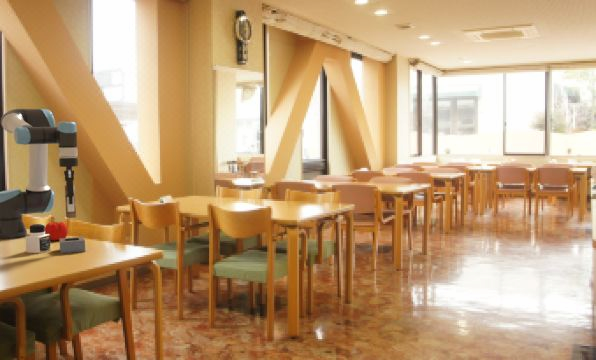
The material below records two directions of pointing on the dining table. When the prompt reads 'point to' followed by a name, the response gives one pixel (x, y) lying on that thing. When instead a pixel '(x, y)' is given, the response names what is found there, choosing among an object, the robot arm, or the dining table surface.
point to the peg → (68, 214)
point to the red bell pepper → (56, 230)
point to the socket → (72, 245)
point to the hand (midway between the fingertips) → (70, 210)
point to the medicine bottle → (37, 239)
